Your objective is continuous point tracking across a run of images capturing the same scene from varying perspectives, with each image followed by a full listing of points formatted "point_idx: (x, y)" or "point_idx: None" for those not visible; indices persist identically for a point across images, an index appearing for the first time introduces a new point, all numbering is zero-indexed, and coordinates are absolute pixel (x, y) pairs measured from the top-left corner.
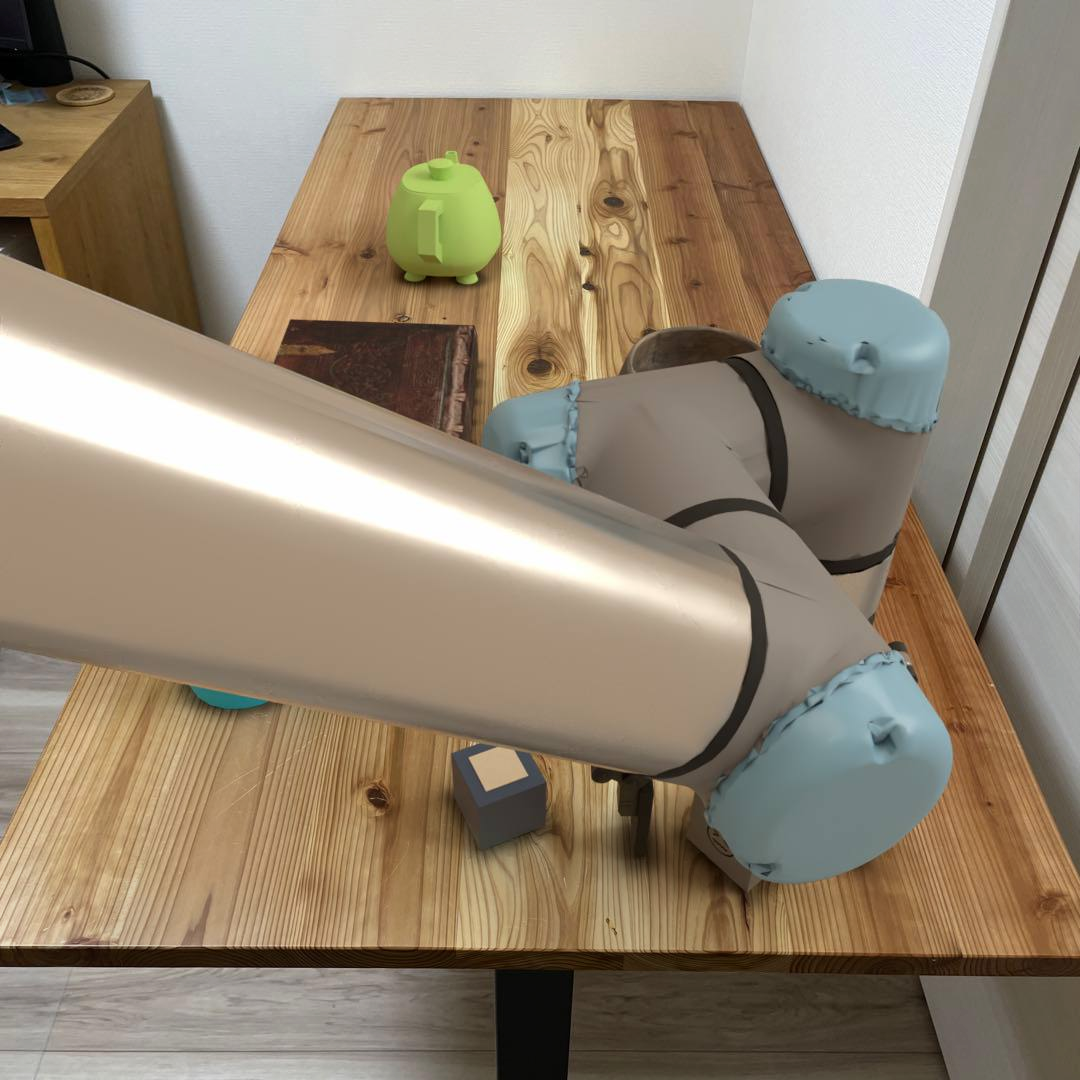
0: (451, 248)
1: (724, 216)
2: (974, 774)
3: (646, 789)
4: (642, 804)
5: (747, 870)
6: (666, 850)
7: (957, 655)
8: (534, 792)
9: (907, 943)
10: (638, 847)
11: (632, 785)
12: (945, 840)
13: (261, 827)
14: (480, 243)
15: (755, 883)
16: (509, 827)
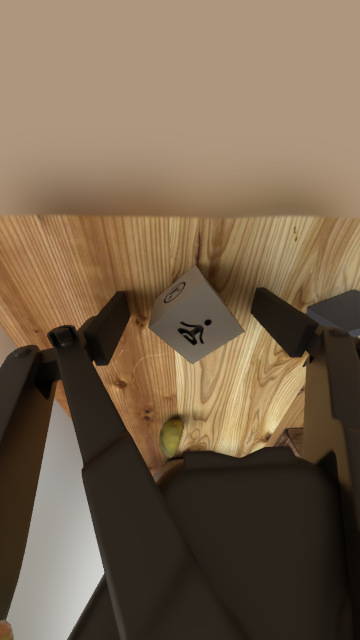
0: None
1: None
2: (48, 348)
3: (311, 328)
4: (303, 315)
5: (200, 272)
6: (239, 293)
7: (66, 403)
8: (352, 324)
9: (80, 223)
10: (267, 291)
11: (339, 330)
12: (60, 307)
13: None
14: None
15: (188, 270)
16: (344, 303)
